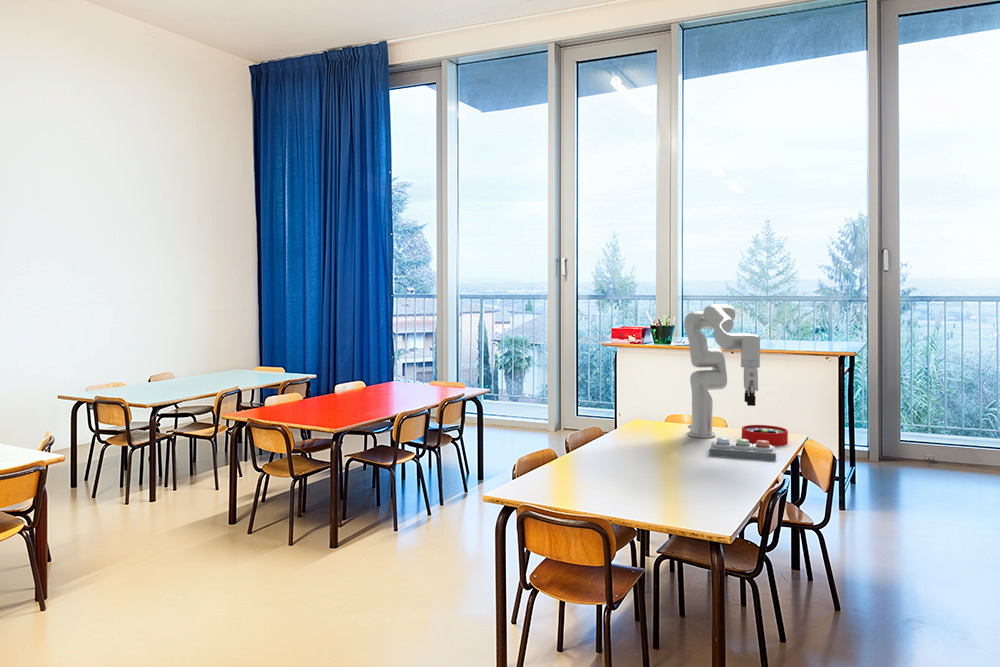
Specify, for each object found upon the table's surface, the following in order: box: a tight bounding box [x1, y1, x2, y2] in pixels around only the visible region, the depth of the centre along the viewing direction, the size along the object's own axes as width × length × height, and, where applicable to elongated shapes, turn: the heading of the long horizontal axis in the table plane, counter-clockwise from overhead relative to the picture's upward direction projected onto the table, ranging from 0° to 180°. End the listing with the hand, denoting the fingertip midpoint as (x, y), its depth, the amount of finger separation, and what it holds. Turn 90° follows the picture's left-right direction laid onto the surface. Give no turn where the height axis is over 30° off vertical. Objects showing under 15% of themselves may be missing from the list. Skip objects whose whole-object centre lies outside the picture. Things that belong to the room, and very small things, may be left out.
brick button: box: [756, 440, 769, 447], centre depth 287 cm, size 5×5×2 cm
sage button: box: [736, 438, 749, 446], centre depth 290 cm, size 5×5×2 cm
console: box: [709, 440, 777, 462], centre depth 290 cm, size 26×14×4 cm, turn 69°
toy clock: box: [741, 424, 789, 447], centre depth 316 cm, size 20×6×20 cm
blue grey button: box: [716, 437, 730, 445], centre depth 293 cm, size 5×5×2 cm
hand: (749, 403), depth 288 cm, fingers open, 9 cm apart
